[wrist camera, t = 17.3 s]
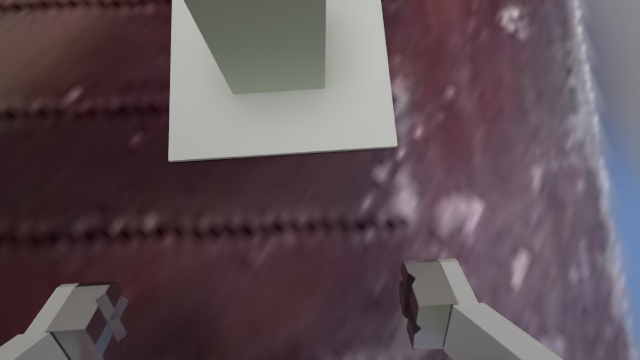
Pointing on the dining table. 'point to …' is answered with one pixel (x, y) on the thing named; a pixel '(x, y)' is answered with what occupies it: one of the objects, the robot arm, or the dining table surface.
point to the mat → (284, 95)
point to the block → (265, 42)
